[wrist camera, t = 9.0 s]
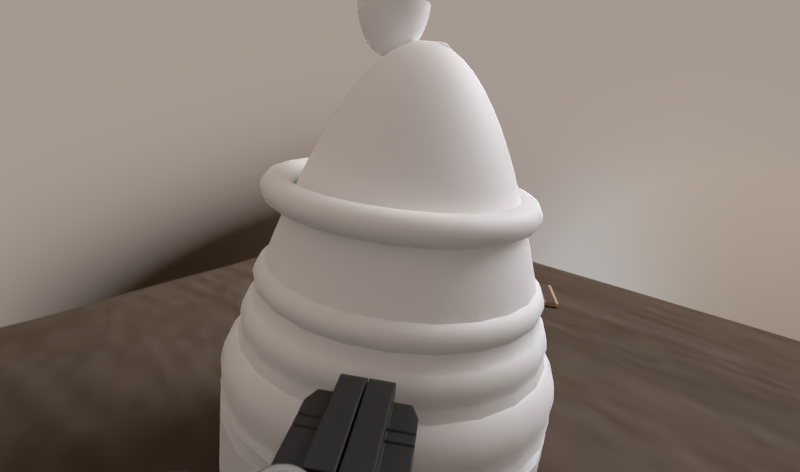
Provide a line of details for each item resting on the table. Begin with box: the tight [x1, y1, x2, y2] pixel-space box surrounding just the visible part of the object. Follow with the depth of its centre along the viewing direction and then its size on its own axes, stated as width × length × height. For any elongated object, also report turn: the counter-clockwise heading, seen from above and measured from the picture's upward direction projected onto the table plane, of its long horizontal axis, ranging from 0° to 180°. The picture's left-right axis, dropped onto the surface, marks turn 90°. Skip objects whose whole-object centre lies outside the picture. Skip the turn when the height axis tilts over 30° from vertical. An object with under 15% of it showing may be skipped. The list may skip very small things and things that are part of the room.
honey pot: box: [219, 0, 554, 472], centre depth 19 cm, size 13×13×18 cm
